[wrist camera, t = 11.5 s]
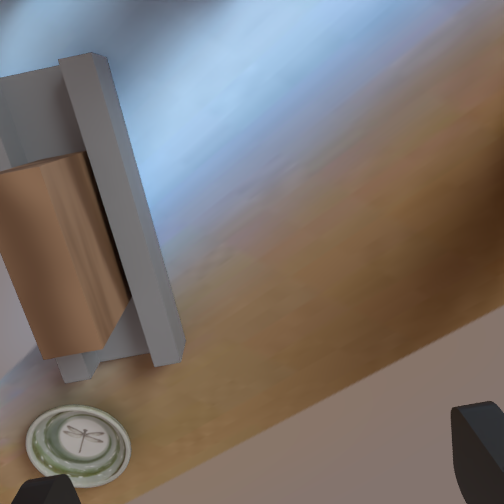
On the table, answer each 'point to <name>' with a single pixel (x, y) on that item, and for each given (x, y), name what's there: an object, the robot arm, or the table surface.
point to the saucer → (79, 445)
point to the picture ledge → (111, 190)
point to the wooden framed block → (61, 254)
